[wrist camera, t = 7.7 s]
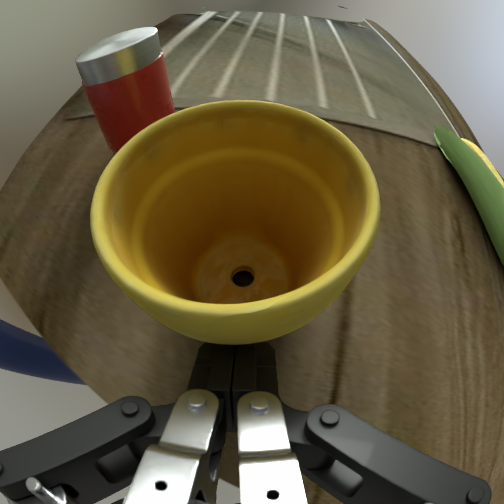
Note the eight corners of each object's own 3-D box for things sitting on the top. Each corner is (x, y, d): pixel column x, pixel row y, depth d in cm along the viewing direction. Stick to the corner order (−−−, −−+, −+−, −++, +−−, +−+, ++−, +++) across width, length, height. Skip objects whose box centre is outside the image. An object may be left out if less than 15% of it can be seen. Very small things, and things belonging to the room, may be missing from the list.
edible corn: (504, 293, 16) (536, 272, 12) (418, 134, 26) (431, 105, 22) (525, 280, 17) (553, 260, 13) (445, 137, 26) (459, 111, 22)
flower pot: (224, 196, 21) (210, 80, 12) (348, 262, 18) (407, 152, 10) (132, 303, 17) (45, 213, 8) (267, 399, 14) (287, 407, 5)
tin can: (147, 180, 22) (103, 61, 12) (103, 160, 23) (60, 64, 13) (195, 134, 25) (176, 24, 14) (147, 120, 26) (122, 29, 16)
